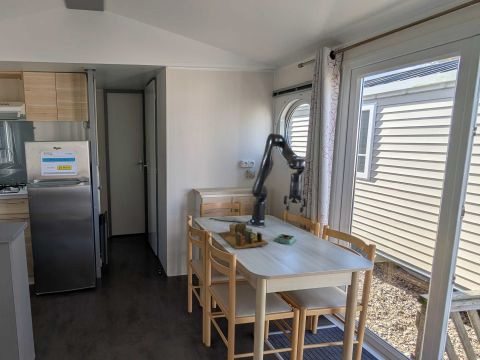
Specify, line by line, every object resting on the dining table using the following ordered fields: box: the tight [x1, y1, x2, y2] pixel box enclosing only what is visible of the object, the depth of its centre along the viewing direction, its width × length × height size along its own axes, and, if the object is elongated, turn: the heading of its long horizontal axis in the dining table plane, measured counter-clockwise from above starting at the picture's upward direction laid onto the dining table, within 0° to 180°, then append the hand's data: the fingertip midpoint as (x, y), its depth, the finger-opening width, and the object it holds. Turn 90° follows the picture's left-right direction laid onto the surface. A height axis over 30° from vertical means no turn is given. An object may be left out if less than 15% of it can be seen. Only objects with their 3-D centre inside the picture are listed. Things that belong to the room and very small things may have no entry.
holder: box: [275, 233, 296, 245], centre depth 205 cm, size 11×9×3 cm
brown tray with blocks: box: [218, 222, 269, 250], centre depth 207 cm, size 35×24×15 cm
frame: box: [279, 233, 293, 240], centre depth 205 cm, size 8×6×3 cm
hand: (294, 211), depth 204 cm, fingers open, 8 cm apart
